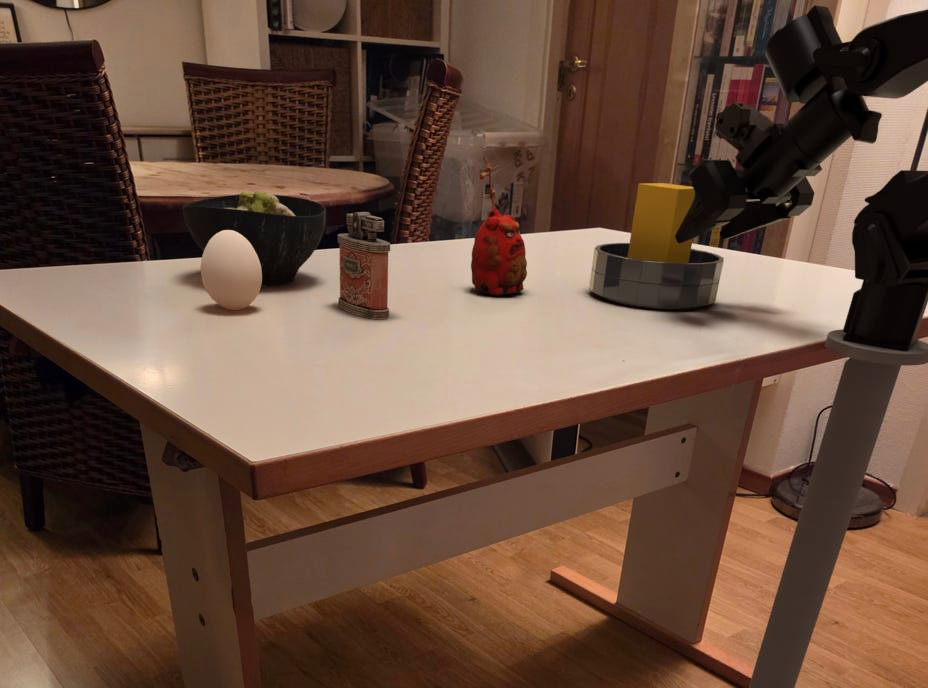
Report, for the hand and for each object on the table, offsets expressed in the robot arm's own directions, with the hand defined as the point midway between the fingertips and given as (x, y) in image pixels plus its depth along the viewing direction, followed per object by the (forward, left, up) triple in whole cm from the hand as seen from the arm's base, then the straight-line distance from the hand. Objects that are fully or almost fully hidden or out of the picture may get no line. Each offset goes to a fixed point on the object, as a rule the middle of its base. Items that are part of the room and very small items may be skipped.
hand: (699, 238), depth 105 cm
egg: (+36, +43, -8) cm, 57 cm away
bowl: (+46, +29, -8) cm, 55 cm away
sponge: (+6, -2, -7) cm, 9 cm away
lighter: (+26, +33, -8) cm, 43 cm away
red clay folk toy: (+22, +11, -8) cm, 26 cm away
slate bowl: (+6, -2, -8) cm, 10 cm away
